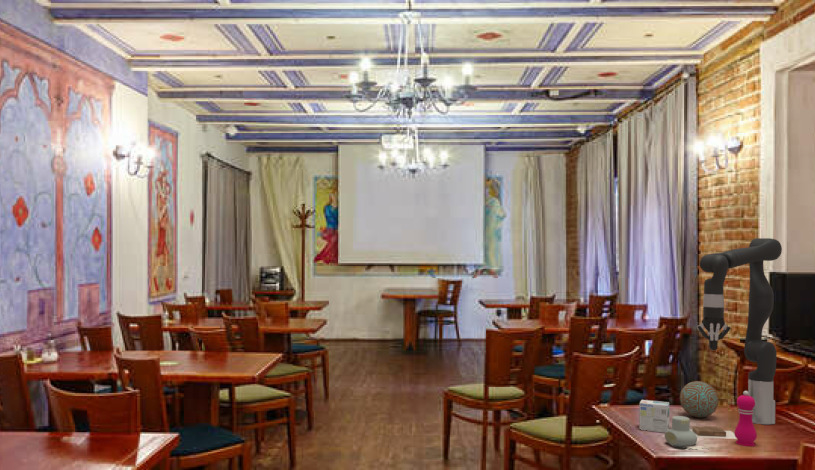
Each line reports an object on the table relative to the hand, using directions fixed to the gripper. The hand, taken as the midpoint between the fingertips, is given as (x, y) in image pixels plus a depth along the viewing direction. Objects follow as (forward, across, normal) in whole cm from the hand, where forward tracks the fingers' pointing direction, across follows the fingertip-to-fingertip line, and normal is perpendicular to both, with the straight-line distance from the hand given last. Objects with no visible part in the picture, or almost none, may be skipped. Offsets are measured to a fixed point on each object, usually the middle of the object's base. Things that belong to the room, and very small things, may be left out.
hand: (713, 350), depth 283 cm
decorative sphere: (+31, -1, -21) cm, 38 cm away
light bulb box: (+31, +23, +4) cm, 39 cm away
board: (+31, +5, +12) cm, 34 cm away
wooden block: (+29, 0, +12) cm, 31 cm away
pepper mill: (+31, -4, +24) cm, 40 cm away
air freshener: (+31, +19, +26) cm, 45 cm away
